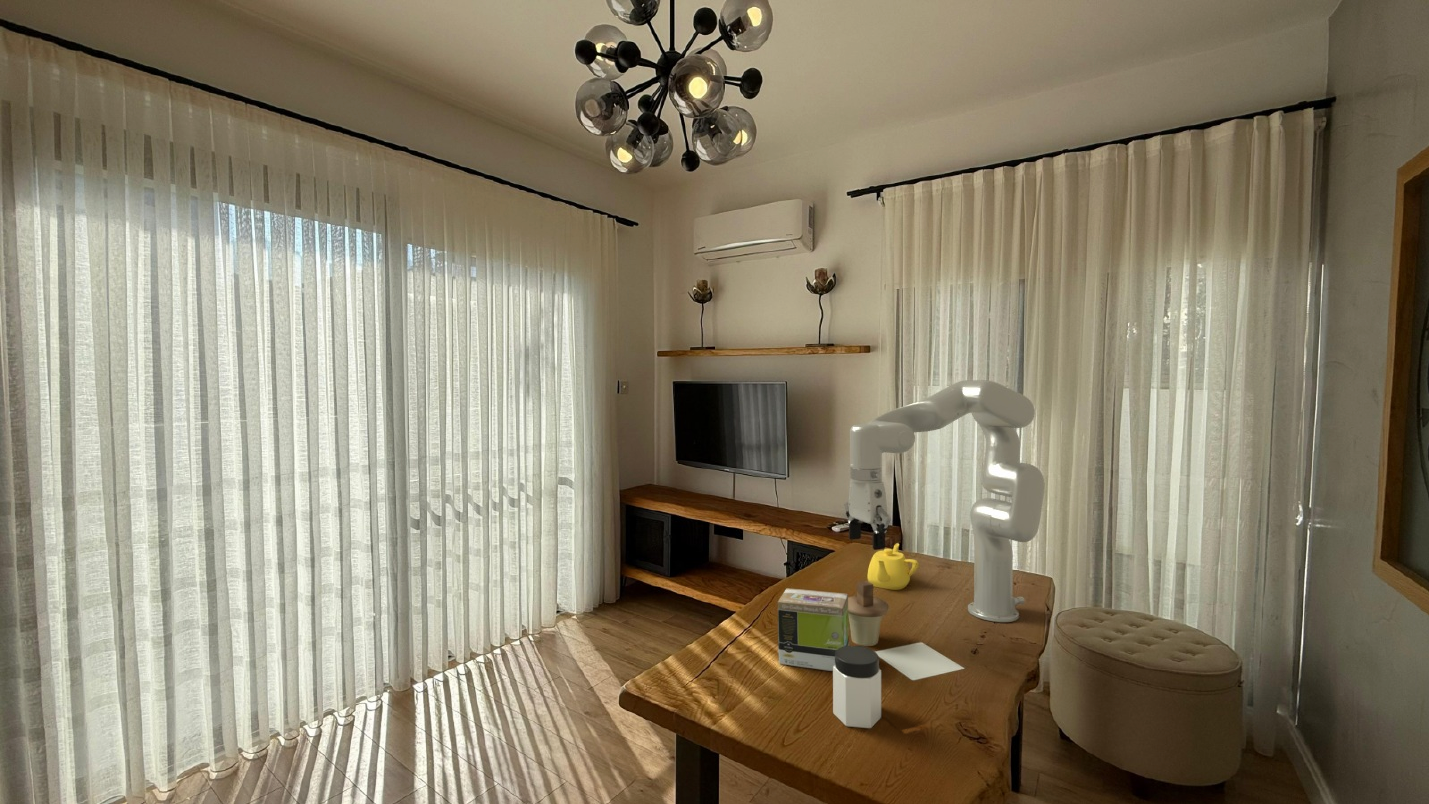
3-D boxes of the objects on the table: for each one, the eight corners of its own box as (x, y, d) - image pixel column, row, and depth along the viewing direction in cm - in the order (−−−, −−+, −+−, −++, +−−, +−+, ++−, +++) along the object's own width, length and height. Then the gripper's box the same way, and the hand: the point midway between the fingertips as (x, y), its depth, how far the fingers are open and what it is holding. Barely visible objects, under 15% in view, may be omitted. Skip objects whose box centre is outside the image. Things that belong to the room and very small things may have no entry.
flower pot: (886, 653, 137) (886, 617, 137) (845, 649, 139) (845, 614, 139) (883, 636, 146) (883, 602, 146) (844, 633, 148) (844, 599, 148)
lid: (871, 597, 149) (871, 573, 149) (897, 613, 139) (897, 587, 139) (833, 603, 146) (833, 578, 146) (858, 620, 135) (858, 593, 135)
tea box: (849, 654, 137) (849, 592, 136) (844, 675, 127) (844, 608, 127) (786, 646, 141) (786, 585, 141) (777, 665, 132) (776, 600, 131)
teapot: (910, 599, 171) (910, 563, 170) (858, 590, 179) (858, 555, 178) (925, 577, 189) (925, 545, 189) (878, 570, 198) (878, 538, 197)
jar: (848, 698, 117) (848, 640, 117) (886, 713, 112) (886, 652, 112) (826, 718, 111) (826, 656, 110) (866, 735, 105) (866, 670, 105)
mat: (921, 644, 141) (921, 642, 141) (964, 671, 128) (964, 668, 128) (872, 654, 136) (872, 652, 136) (912, 683, 123) (912, 680, 123)
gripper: (901, 478, 135) (902, 551, 136) (858, 468, 152) (858, 533, 152) (874, 481, 133) (875, 555, 133) (833, 470, 149) (834, 537, 149)
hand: (866, 543), depth 143 cm, fingers open, 9 cm apart
